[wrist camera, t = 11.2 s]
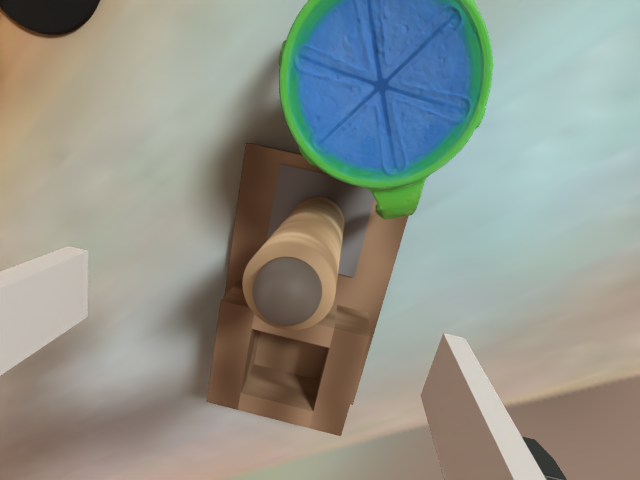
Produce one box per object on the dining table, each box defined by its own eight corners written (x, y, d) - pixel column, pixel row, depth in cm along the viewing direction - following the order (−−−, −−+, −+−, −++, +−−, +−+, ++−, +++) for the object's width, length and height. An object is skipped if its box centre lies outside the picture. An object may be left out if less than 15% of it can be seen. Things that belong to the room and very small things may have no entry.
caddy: (217, 363, 35) (195, 398, 30) (249, 143, 28) (228, 143, 24) (352, 397, 34) (352, 438, 29) (416, 180, 28) (428, 188, 23)
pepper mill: (287, 241, 29) (222, 338, 15) (296, 191, 28) (236, 245, 14) (337, 253, 29) (320, 363, 15) (350, 203, 28) (343, 271, 14)
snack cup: (444, 197, 28) (490, 227, 18) (316, 208, 29) (296, 242, 20) (442, -25, 24) (500, -139, 14) (293, 0, 25) (254, -89, 15)
